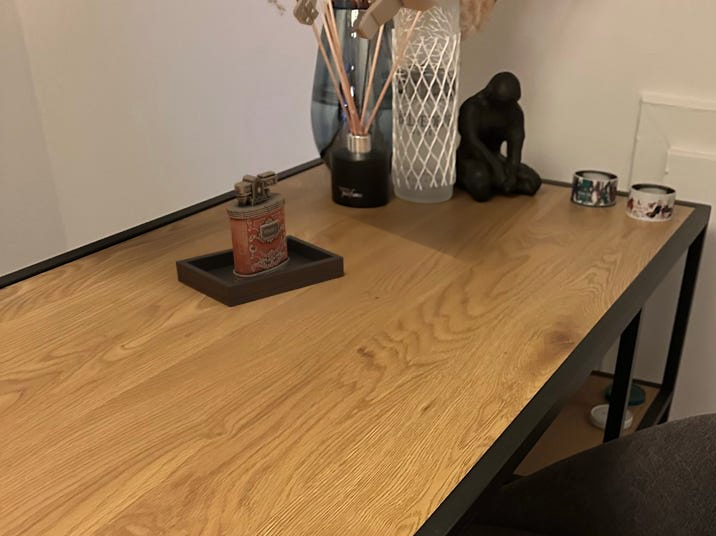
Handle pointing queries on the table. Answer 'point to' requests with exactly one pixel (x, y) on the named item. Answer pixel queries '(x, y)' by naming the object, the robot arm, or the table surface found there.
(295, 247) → the dark serving tray
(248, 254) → the lighter
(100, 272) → the table surface
